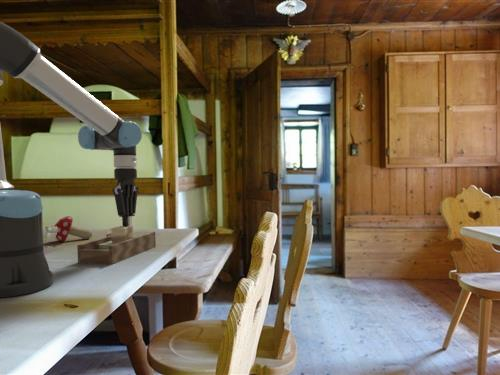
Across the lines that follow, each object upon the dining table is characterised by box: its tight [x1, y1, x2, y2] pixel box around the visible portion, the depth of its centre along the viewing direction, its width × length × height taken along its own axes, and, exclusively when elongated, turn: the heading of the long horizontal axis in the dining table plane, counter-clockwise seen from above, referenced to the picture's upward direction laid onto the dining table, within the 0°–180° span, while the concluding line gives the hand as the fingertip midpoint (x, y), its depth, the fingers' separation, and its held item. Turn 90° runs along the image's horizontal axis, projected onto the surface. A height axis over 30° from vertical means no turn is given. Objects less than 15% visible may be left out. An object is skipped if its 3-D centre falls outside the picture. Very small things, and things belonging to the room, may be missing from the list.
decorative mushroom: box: [54, 215, 93, 243], centre depth 156 cm, size 11×11×15 cm
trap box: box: [76, 231, 157, 265], centre depth 126 cm, size 27×12×6 cm, turn 166°
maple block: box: [111, 225, 134, 243], centre depth 127 cm, size 5×5×5 cm
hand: (127, 235), depth 130 cm, fingers closed
